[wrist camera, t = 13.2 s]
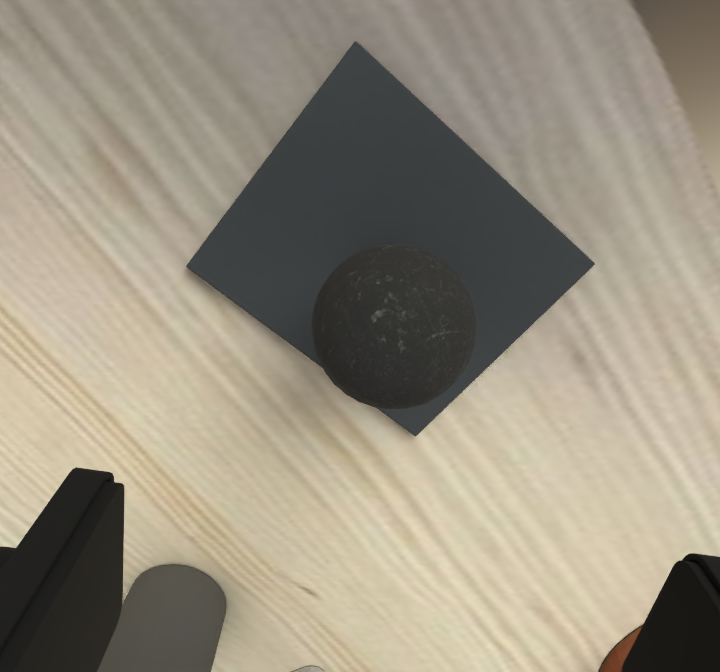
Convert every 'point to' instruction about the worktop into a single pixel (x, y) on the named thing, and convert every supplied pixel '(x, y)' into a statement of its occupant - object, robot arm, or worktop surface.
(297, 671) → the triangular concrete planter
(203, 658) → the bottle
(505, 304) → the mat
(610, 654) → the lantern
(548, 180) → the worktop surface
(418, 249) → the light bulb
